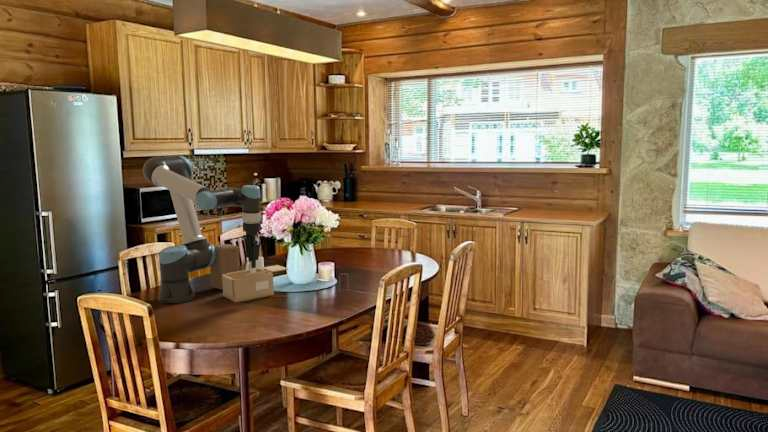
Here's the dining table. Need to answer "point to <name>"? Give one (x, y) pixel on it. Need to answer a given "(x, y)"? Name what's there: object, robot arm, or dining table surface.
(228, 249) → the wooden block
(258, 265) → the cup
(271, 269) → the right flap
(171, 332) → the dining table surface
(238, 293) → the carton
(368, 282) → the dining table surface
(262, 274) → the front flap
